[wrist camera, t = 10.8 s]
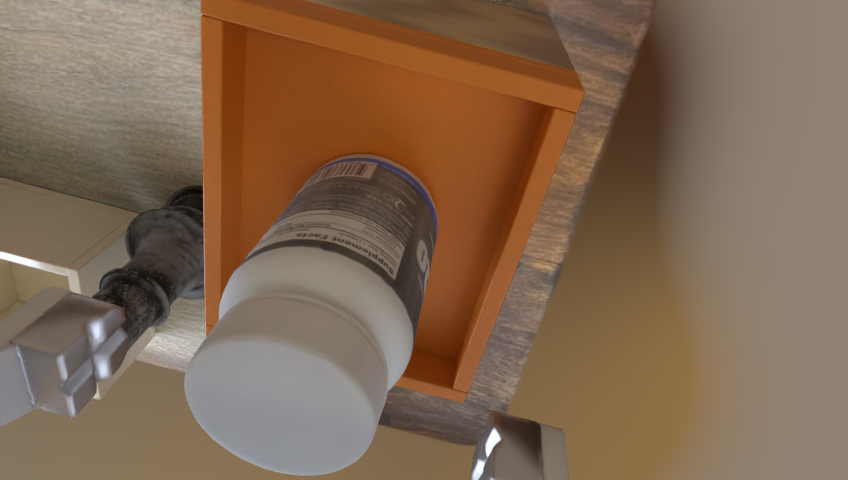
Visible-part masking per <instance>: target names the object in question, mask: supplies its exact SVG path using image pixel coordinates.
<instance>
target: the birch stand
mask: <svg viewBox="0 0 848 480" xmlns="http://www.w3.org/2000/svg"><path fill="white" fill-rule="evenodd" d="M305 1H309V2H313V3H317V4H321V5H325V6H328V7H332V8H336V9H340V10H344V11H347V12H351V13H355V14H359V15H363V16H367V17H370V18H374V19H378V20H382V21H386V22H389V23H393V24H397V25H401V26H405V27H409V28H412V29H416V30H420V31H424V32H428V33H431V34H435V35H439V36H443V37H447V38H451V39H454V40H458V41H462V42H466V43H470V44H473V45H477V46H481V47H485V48H489V49H493V50H496V51H500V52H504V53H508V54H512V55H515V56H519V57H523V58H527V59H531V60H535V61H538V62H542V63H546V64H550V65H554V66H557V67H561V68H565V69H569V70H573V71H575V69H574V67H573V65H572V63H571V61H570V59H569V56H568V54H567V52H566V50H565V48H564V46H563V44H562V41H561V39H560V37H559V35H558V33H557V31H556V29H555V26H554V24H553V22H552V20H551V18H550V17H546V16H542V15H538V14H534V13H531V12H527V11H523V10H519V9H515V8H511V7H508V6H504V5H500V4H496V3H492V2H489V1H485V0H305Z"/></svg>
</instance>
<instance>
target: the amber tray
mask: <svg viewBox="0 0 848 480" xmlns="http://www.w3.org/2000/svg"><path fill="white" fill-rule="evenodd" d="M201 13H202V14H203V15H202V16H201V58H202V135H203V212H204V290H205V323H206V324H205V335H207V336H208V334H209V333H210V332H211V330H212V329H213V327H214V326H215V324H216V323H217V322H218V321H219V307H220V302H221V298H222V295H223V292H224V290H225V288H226V286H227V283H228V281H229V279H230V278H231V276H232V274H233V273H234V271H235V270H236V269H237V268H238V267H239V266H240V265H241V264H242V263H243V261H244V260H245V259H246V257H247V256H248V255H249V253H250V252H251V251H252V250H253V248H254V247H255V246H256V245H257V244H258V243H259V241H260V240H261V239H262V237H263V236H264V235H265V234H266V232H267V231H268V230H269V228H270V227H271V226H272V225H273V224H274V223H275V221H276V220H277V219H278V218H279V216H280V215H281V214H282V212H283V211H284V210H285V208H286V207H287V206H288V205H289V203H290V202H291V201H292V199H293V198H294V197H295V195H296V194H297V193H298V192H299V190H300V189H301V188H302V187H303V186H304V184H305V183H306V182H307V181H308V180H309V178H310V177H311V176H312V175H313V174H314V173H315V172H316V171H317V170H318V169H319V168H320V167H322V166H323V165H325V164H326V163H328V162H330V161H332V160H334V159H336V158H339V157H343V156H347V155H352V154H371V155H377V156H381V157H384V158H387V159H390V160H392V161H394V162H396V163H398V164H400V165H402V166H404V167H405V168H407V169H408V170H409V171H411V172H412V173H413V174H414V175H416V176H417V177H418V178H419V179H420V180H421V181H422V182H423V184H424V185H425V186H426V187H427V189H428V191H429V193H430V194H431V196H432V198H433V201H434V203H435V206H436V209H437V213H438V220H439V225H438V235H437V242H436V246H435V250H434V254H433V260H432V264H431V270H430V274H429V279H428V283H427V286H426V290H425V295H424V299H423V305H422V309H421V312H420V316H419V322H418V328H417V333H416V339H415V343H414V348H413V351H412V354H411V358H410V361H409V363H408V365H407V367H406V369H405V371H404V373H403V374H402V376H401V377H400V379H399V380H398V381H397V383H396V384H395V385H397V386H401V387H405V388H409V389H412V390H416V391H420V392H424V393H428V394H431V395H435V396H439V397H443V398H447V399H450V400H454V401H458V402H462V403H463V402H464V401H465V398H466V396H467V393H468V391H469V388H470V386H471V383H472V381H473V378H474V376H475V373H476V370H477V368H478V365H479V363H480V360H481V358H482V355H483V352H484V350H485V347H486V345H487V342H488V340H489V337H490V335H491V332H492V329H493V327H494V324H495V322H496V319H497V317H498V314H499V312H500V309H501V306H502V304H503V301H504V299H505V296H506V294H507V291H508V288H509V286H510V283H511V281H512V278H513V276H514V273H515V271H516V268H517V265H518V263H519V260H520V258H521V255H522V253H523V250H524V248H525V245H526V242H527V240H528V237H529V235H530V232H531V230H532V227H533V225H534V222H535V219H536V217H537V214H538V212H539V209H540V207H541V204H542V201H543V199H544V196H545V194H546V191H547V189H548V186H549V184H550V181H551V178H552V176H553V173H554V171H555V168H556V166H557V163H558V161H559V158H560V155H561V153H562V150H563V148H564V145H565V143H566V140H567V137H568V135H569V132H570V130H571V127H572V125H573V122H574V120H575V117H576V112H577V111H578V109H579V107H580V104H581V101H582V99H583V96H584V94H585V91H584V88H583V86H582V84H581V82H580V80H579V78H578V75H577V73H576V72H575V71H573V70H569V69H565V68H561V67H557V66H554V65H550V64H546V63H542V62H538V61H535V60H531V59H527V58H523V57H519V56H515V55H512V54H508V53H504V52H500V51H496V50H493V49H489V48H485V47H481V46H477V45H473V44H470V43H466V42H462V41H458V40H454V39H451V38H447V37H443V36H439V35H435V34H431V33H428V32H424V31H420V30H416V29H412V28H409V27H405V26H401V25H397V24H393V23H389V22H386V21H382V20H378V19H374V18H370V17H367V16H363V15H359V14H355V13H351V12H347V11H344V10H340V9H336V8H332V7H328V6H325V5H321V4H317V3H313V2H309V1H305V0H201Z"/></svg>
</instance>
